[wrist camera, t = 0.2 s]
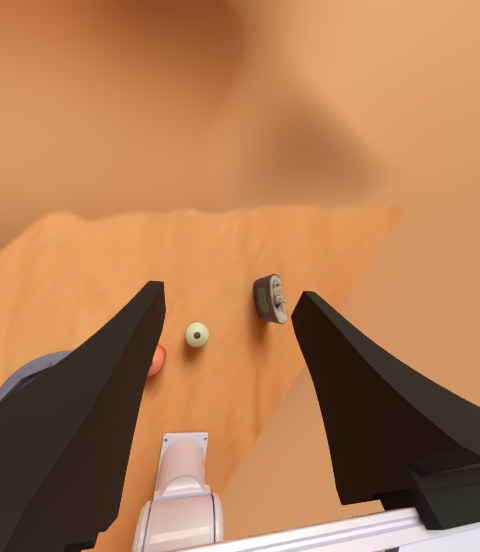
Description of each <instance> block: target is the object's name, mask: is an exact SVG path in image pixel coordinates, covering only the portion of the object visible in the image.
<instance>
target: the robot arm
mask: <svg viewBox="0 0 480 552" xmlns="http://www.w3.org/2000/svg"><path fill="white" fill-rule="evenodd" d="M165 313H166V307H165V294H164V282H160V281H149V282H148V283H147V284H146V285H145V286H144V287H143V288H142V289H141V290H140V291H139V292H138V293H137V294H136V295H135V296H134V297H133V298H132V300H131V301H130V302H129V303H128V304H127V305H126V306H124V307H123V308H122V309H121V310H120V311H119V312H118V313H117V314H116V315H115V316H114V317H113V318H112V319H111V320H110V321H109V322H107V323H106V324H105V325H104V326H103V327H102V328H101V329H100V330H98V331H97V332H96V333H95V334H94V335H93V336H91V337H90V338H89V339H88V340H87V341H85V342H84V343H83V344H82V345H80V346H79V347H78V348H76V349H75V350H74V351H73V352H71V353H70V354H69V355H67V356H66V357H65V358H63V359H62V360H60V361H59V362H58V363H56V364H55V365H54V366H52V367H51V368H49V369H48V370H47V371H45V372H44V373H42V374H41V375H40V376H38V377H37V378H35V379H34V380H32V381H31V382H29V383H28V384H26V385H25V386H23V387H22V388H20V389H19V390H17V391H16V392H14V393H13V394H11V395H9V396H8V397H6V398H5V399H3V400H2V401H0V552H81V550H86V549H92V548H94V546H95V543H96V540H97V536H98V533H99V532H105V531H106V530H107V529H108V528H109V527H110V525H111V524H112V523H113V522H114V521H115V519H116V518H117V517H118V513H119V507H120V502H121V496H122V491H123V486H124V480H125V475H126V470H127V465H128V460H129V455H130V450H131V445H132V440H133V435H134V431H135V426H136V421H137V417H138V412H139V408H140V403H141V399H142V394H143V390H144V386H145V383H146V379H147V376H148V373H149V369H150V366H151V363H152V360H153V357H154V354H155V351H156V348H157V345H158V342H159V339H160V336H161V332H162V329H163V324H164V319H165ZM291 319H292V323H293V328H294V332H295V335H296V338H297V340H298V343H299V346H300V348H301V351H302V354H303V356H304V359H305V361H306V364H307V366H308V369H309V372H310V374H311V377H312V380H313V383H314V386H315V391H316V394H317V398H318V401H319V405H320V409H321V413H322V418H323V421H324V426H325V431H326V435H327V440H328V444H329V449H330V454H331V460H332V466H333V472H334V477H335V483H336V490H337V492H338V496H339V498H340V501H341V504H342V505H348V504H355V503H361V502H367V501H374V500H379V499H380V501H381V503H382V505H383V507H384V510H385V511H383V512H377V513H372V514H366V515H361V516H356V517H350V518H345V519H339V520H334V521H329V522H324V523H318V524H312V525H307V526H301V527H296V528H291V529H285V530H280V531H274V532H269V533H263V534H258V535H253V536H247V537H242V538H237V539H231V540H226V541H223V515H222V505H221V500H220V498H219V497H218V495H217V493H216V492H212V493H211V495H210V487H209V485H206V477H205V457H206V450H207V442H208V433H207V432H190V433H166V434H164V436H163V442H162V448H161V454H160V460H159V467H158V473H157V479H156V485H155V491H154V498H153V502H152V504H151V500H150V501H147V502H146V504H145V505H144V506H143V507H142V509H141V511H140V515H139V519H138V523H137V527H136V532H135V537H134V542H133V547H132V552H378V551H383V550H385V552H480V407H478V406H476V405H475V404H472V403H470V402H469V401H467V400H465V399H463V398H461V397H459V396H458V395H456V394H454V393H452V392H451V391H449V390H447V389H445V388H444V387H442V386H440V385H438V384H436V383H435V382H433V381H431V380H430V379H428V378H427V377H425V376H423V375H422V374H420V373H418V372H417V371H415V370H414V369H412V368H410V367H409V366H407V365H406V364H404V363H403V362H401V361H400V360H398V359H397V358H395V357H394V356H392V355H391V354H390V353H388V352H387V351H385V350H384V349H383V348H381V347H380V346H378V345H377V344H376V343H374V342H373V341H372V340H371V339H369V338H368V337H367V336H365V335H364V334H363V333H362V332H361V331H359V330H358V329H357V328H356V327H354V326H353V325H352V324H351V323H350V322H348V321H347V320H346V319H345V318H344V317H343V316H342V315H340V314H339V313H338V312H337V311H336V310H335V309H334V308H332V307H331V306H330V305H329V304H328V303H327V302H326V301H325V300H323V299H322V298H321V297H320V296H319V295H317V294H316V293H315V292H311V291H303V293H302V295H301V297H300V299H299V301H298V303H297V305H296V307H295V309H294V311H293V313H292V315H291ZM204 438H206V439H204ZM165 439H167V441H165Z"/></svg>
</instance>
